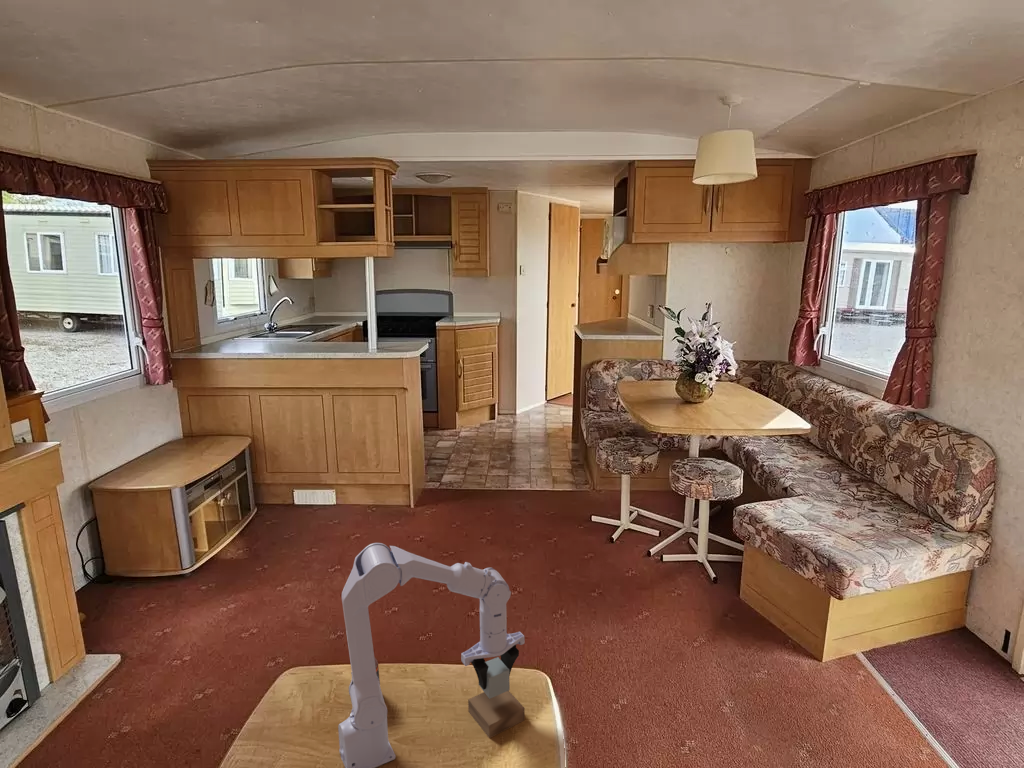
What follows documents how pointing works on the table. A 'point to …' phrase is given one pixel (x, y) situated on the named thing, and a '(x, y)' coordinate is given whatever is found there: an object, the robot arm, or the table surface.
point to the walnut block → (496, 712)
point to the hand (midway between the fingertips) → (494, 681)
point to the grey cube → (496, 678)
